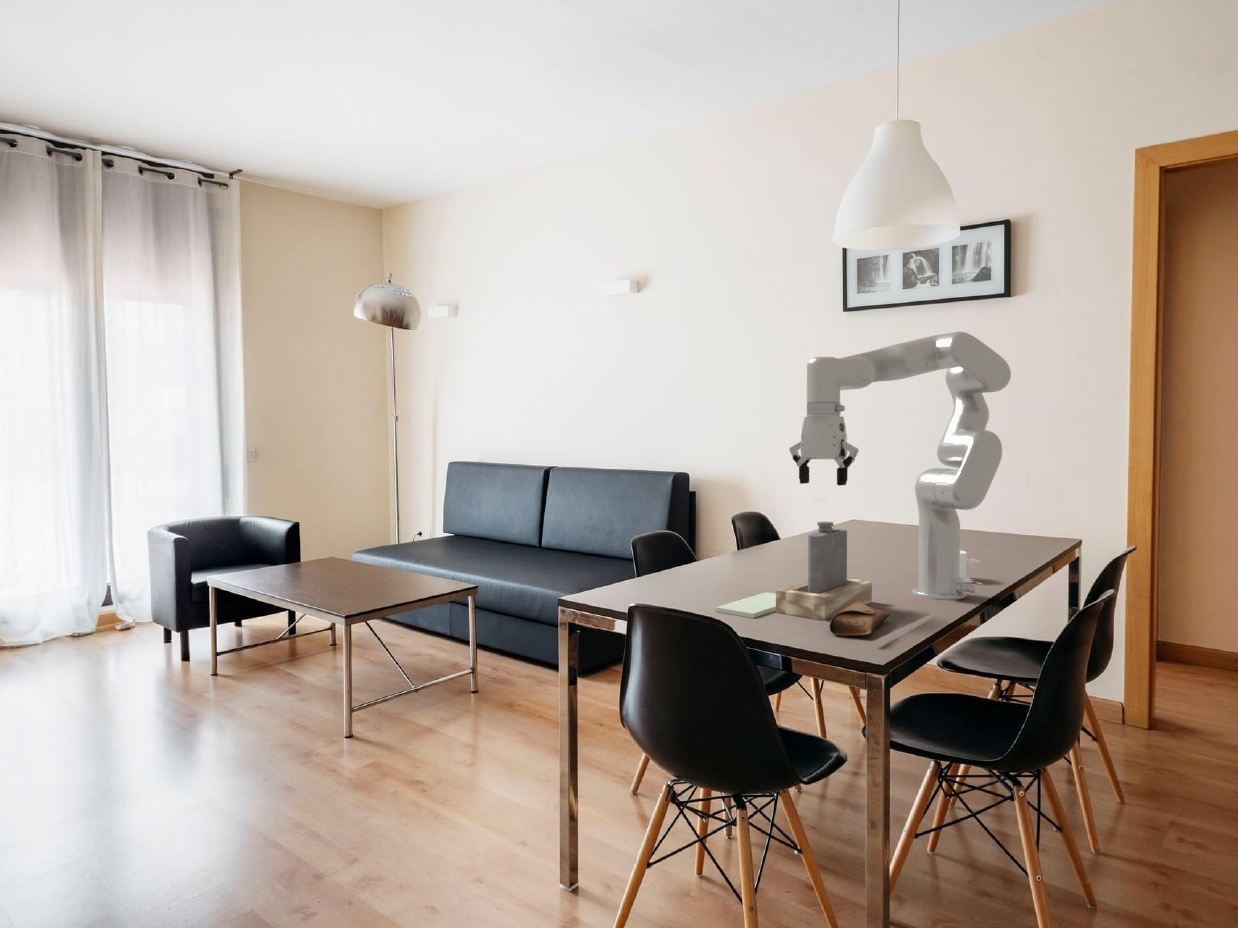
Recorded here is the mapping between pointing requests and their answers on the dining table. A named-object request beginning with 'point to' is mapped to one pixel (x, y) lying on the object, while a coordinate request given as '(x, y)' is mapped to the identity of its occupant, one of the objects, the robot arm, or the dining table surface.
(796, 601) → the beige open box
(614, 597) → the dining table surface
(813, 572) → the hip flask
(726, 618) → the dining table surface
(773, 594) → the mat
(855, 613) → the sunglasses case
